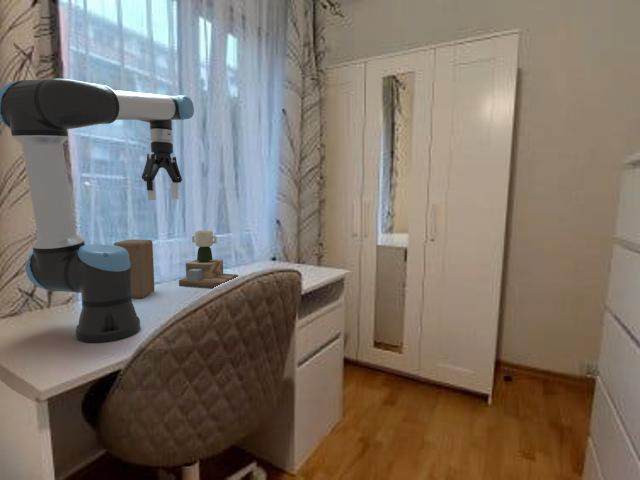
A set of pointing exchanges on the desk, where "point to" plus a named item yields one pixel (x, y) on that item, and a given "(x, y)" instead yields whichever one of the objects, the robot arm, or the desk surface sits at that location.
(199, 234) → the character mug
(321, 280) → the desk surface
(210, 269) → the walnut stand
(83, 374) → the desk surface
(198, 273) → the grey cube
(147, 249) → the wooden block
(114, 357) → the desk surface
